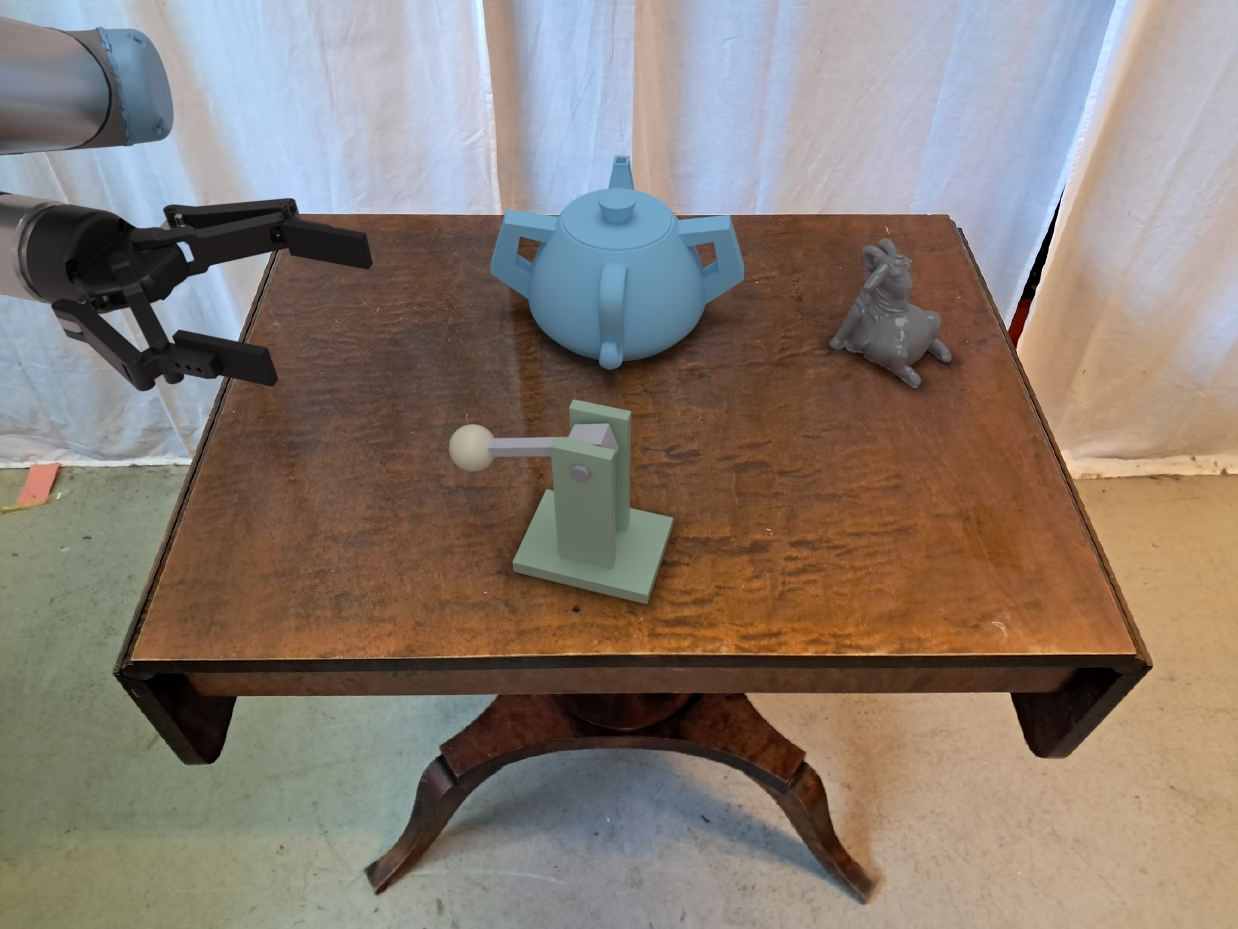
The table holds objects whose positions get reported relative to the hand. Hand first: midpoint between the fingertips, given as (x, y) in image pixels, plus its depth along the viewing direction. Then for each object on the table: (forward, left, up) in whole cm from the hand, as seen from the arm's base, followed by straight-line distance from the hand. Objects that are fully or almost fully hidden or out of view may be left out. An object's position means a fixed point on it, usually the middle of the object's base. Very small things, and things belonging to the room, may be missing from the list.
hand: (322, 305), depth 65 cm
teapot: (+20, +26, -20) cm, 38 cm away
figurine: (+47, +21, -20) cm, 55 cm away
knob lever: (+14, -4, -12) cm, 19 cm away
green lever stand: (+19, -5, -20) cm, 28 cm away
